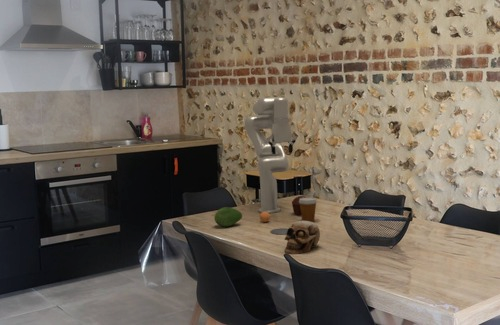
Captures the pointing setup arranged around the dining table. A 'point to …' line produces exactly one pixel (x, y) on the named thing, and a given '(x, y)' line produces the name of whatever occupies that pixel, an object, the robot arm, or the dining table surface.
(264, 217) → the ball
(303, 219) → the disposable coffee cup
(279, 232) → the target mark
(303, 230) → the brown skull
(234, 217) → the fruit
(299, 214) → the muffin
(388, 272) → the dining table surface
